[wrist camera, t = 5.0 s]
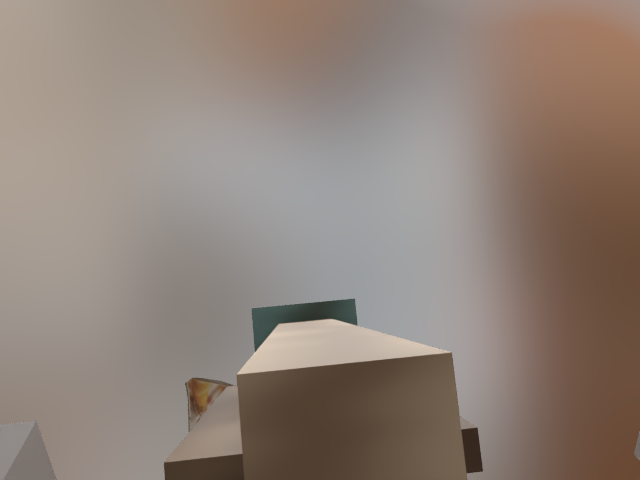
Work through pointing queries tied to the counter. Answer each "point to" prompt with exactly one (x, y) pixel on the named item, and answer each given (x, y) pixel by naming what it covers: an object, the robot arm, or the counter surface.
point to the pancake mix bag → (202, 397)
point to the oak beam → (345, 401)
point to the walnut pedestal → (226, 445)
